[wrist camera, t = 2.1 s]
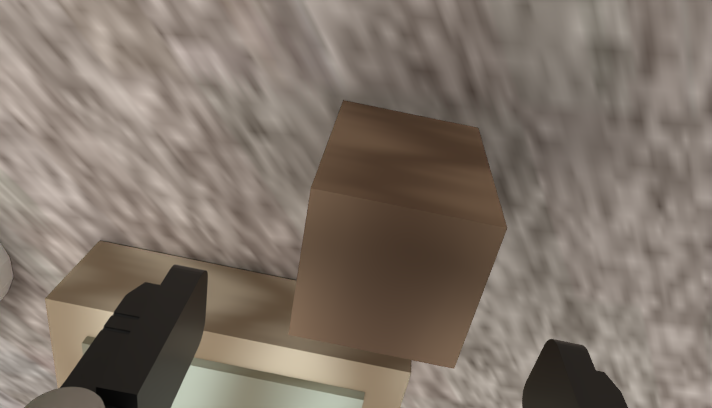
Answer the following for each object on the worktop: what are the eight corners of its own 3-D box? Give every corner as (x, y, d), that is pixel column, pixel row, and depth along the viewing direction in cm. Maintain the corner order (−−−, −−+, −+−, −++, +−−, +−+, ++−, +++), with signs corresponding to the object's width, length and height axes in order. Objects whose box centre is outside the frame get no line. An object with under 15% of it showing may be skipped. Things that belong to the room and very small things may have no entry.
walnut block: (478, 127, 19) (507, 228, 13) (442, 240, 22) (453, 368, 16) (343, 99, 19) (310, 187, 13) (323, 215, 22) (288, 335, 16)
